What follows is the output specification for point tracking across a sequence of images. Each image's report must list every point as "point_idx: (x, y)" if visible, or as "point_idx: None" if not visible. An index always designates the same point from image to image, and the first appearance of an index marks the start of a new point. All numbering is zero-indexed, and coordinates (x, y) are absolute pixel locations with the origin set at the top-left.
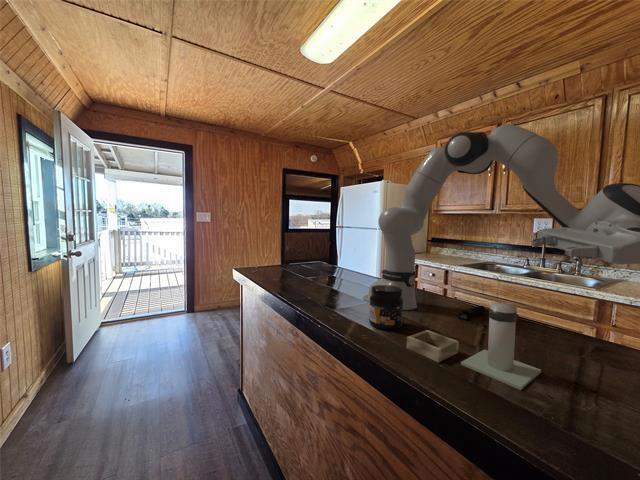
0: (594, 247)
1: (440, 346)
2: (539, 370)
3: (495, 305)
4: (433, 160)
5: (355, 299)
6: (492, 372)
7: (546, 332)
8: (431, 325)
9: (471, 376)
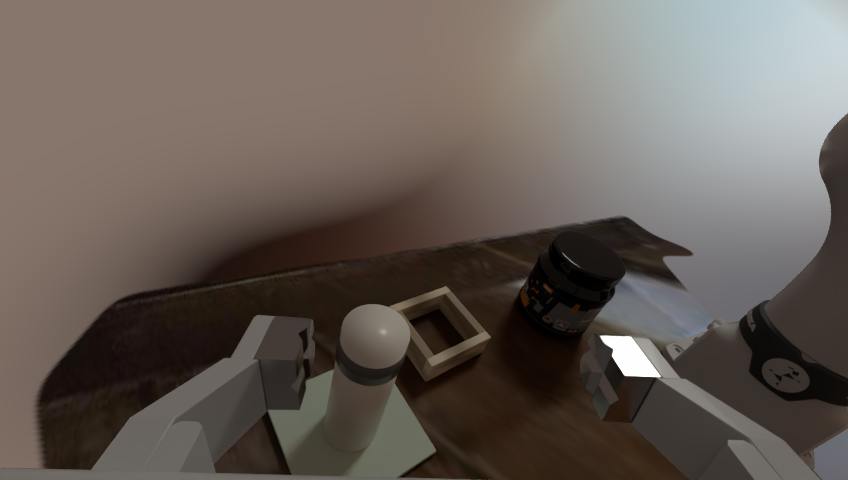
0: (117, 436)
1: (405, 317)
2: None
3: (377, 311)
4: None
5: (700, 317)
6: (327, 384)
7: None
8: (586, 414)
9: (330, 346)
